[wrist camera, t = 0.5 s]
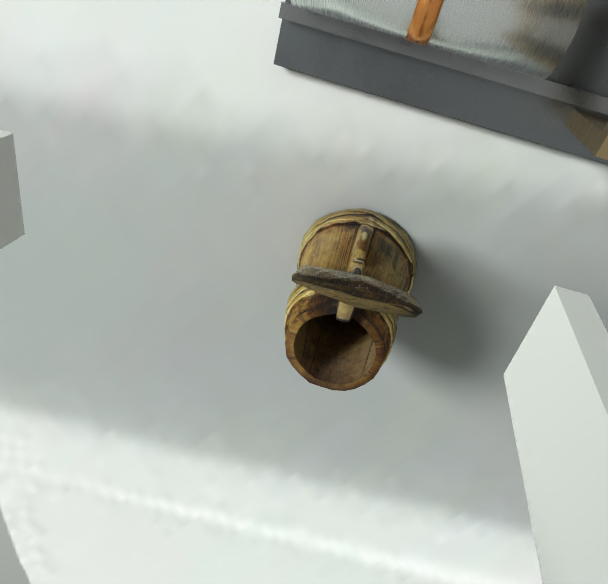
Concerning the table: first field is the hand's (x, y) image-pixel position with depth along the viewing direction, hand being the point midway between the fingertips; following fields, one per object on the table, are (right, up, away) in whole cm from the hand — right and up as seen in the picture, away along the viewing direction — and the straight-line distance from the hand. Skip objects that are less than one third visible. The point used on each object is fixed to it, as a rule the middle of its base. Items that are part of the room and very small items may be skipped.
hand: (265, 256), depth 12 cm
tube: (+8, +16, +16) cm, 24 cm away
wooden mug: (+6, +3, +26) cm, 26 cm away
